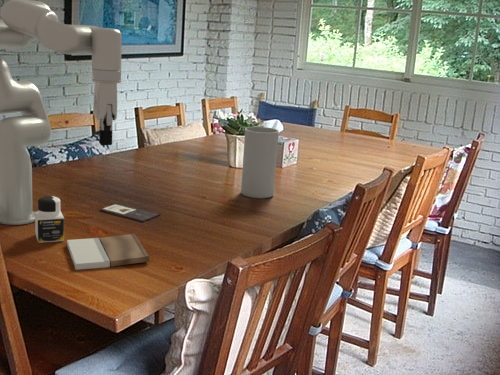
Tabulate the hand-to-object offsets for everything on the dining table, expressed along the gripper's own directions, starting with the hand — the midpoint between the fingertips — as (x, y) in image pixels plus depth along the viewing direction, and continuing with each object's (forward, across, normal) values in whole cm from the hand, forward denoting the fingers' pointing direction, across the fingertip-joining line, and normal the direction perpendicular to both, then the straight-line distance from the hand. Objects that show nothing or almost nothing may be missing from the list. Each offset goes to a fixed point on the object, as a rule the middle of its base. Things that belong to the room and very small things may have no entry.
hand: (105, 144), depth 174 cm
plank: (+29, +7, +4) cm, 30 cm away
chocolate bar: (+30, -28, +13) cm, 43 cm away
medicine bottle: (+29, -9, -14) cm, 34 cm away
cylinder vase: (+29, -43, +65) cm, 83 cm away
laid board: (+29, +7, -6) cm, 30 cm away
